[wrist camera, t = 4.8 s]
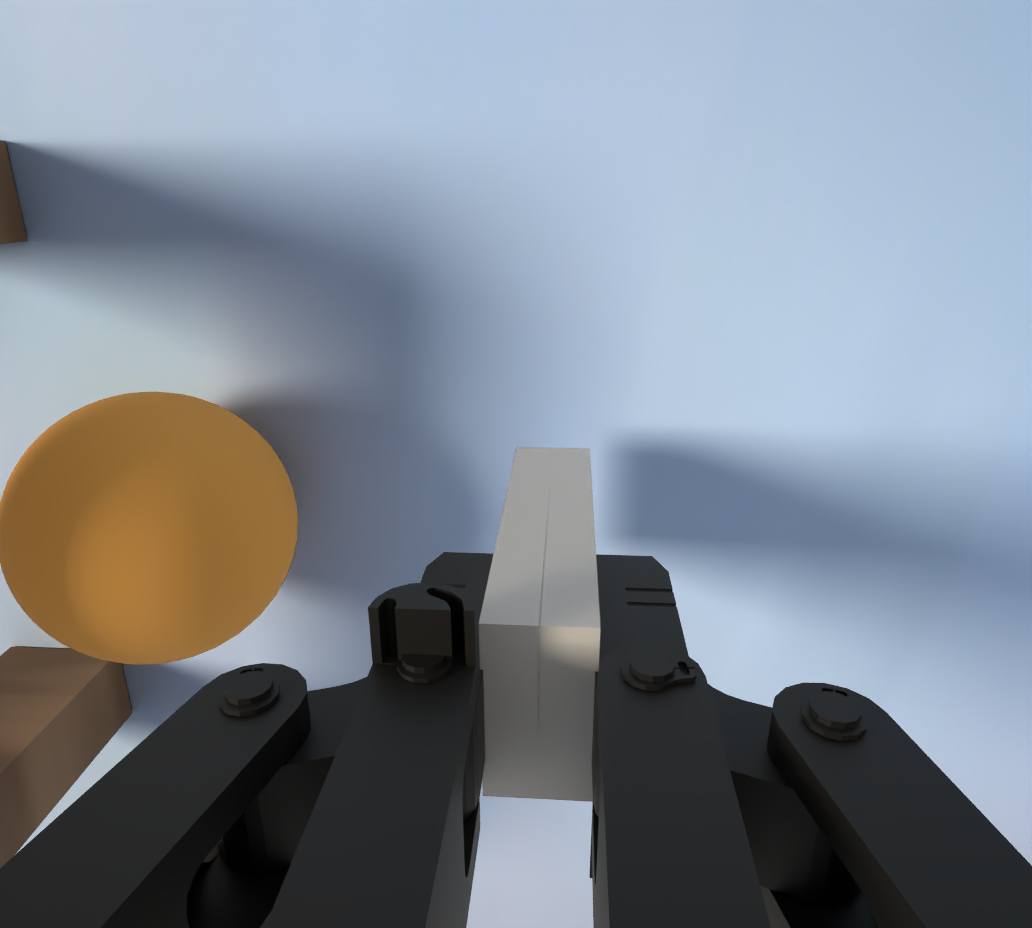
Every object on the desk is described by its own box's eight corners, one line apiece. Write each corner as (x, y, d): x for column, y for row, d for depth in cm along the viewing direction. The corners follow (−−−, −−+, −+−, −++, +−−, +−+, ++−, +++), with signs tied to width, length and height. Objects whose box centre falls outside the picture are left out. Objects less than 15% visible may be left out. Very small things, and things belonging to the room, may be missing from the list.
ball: (167, 447, 11) (324, 366, 17) (-125, 435, 13) (106, 363, 18) (227, 741, 13) (352, 587, 18) (-31, 708, 14) (153, 572, 20)
